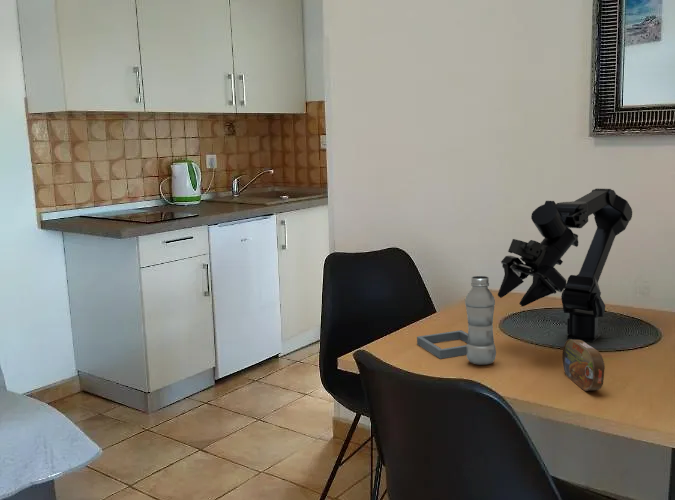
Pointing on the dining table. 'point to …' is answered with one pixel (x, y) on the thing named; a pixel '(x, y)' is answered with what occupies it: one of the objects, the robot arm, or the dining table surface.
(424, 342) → the frame
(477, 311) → the plastic bottle
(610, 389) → the dining table surface
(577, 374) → the tin
